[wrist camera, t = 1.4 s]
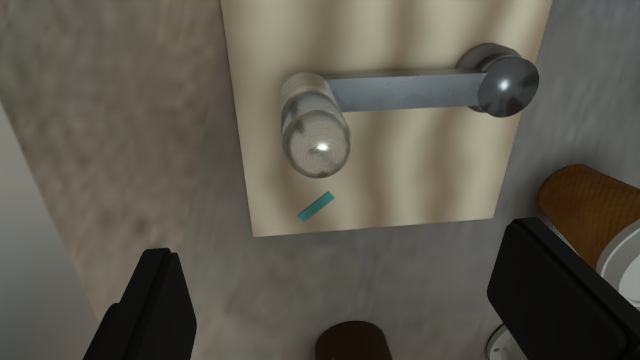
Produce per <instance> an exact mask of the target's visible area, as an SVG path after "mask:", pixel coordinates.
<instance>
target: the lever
mask: <svg viewBox="0 0 640 360" xmlns="http://www.w3.org/2000/svg"><path fill="white" fill-rule="evenodd" d="M538 84H539V75H538V71H537V69H536V67H535V65H534V64H533V63H532V62H530V61H529V60H526V59H523V58H520V57H517V56H514V55H511V54H508V53H497V54H494V55H491V56H489V57H487V58H485V59H484V60H483V61H481V62H480V63H479V64H478V65H477V66H476V68H466V69H441V70H417V71H393V72H368V73H344V74H320V75H317V74H315V73H312V72H300V73H297V74H294V75H293V76H291V77H290V78H289V79H288V80H287V81H286V82H285V83H284V85H283V87H282V89H281V93H280V107H281V134H282V149H283V154H284V157H285V159H286V161H287V162H288V164H289V165H290V166H291V168H293V169H294V170H295V171H296V172H297V173H299V174H301V175H303V176H305V177H308V178H313V179H321V178H327V177H330V176H332V175H334V174H336V173H337V172H339V171H340V170H341V169H342V168H343V167H344V166H345V165H346V163H347V162H348V160H349V158H350V155H351V152H352V146H353V139H352V134H351V131H350V128H349V126H348V124H347V122H346V120H345V118H344V116H343V114H342V112H359V111H379V110H399V109H419V108H439V107H458V106H477V107H478V108H480V109H481V110H483V111H484V112H486V113H488V114H489V115H491V116H493V117H498V118H504V117H509V116H512V115H514V114H517V113H518V112H520V111H521V110H523V109H524V108H525V107H526V106H527V105H528V104H529V103H530V102H531V100H532V99H533V97H534V95H535V93H536V91H537V88H538Z"/></svg>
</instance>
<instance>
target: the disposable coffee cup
mask: <svg viewBox="0 0 640 360" xmlns="http://www.w3.org/2000/svg"><path fill="white" fill-rule="evenodd" d="M538 205H539V208H540V209H541V210H542V211H543V212H544V213H545V215H546V216H547V217H548V218H549V219H550V221H551V222H552V223H553V224H554V225H555V226H556V228H557V229H558V230H559V231H560V233H561V234H562V235H563V236H564V237H565V238H566V240H567V241H568V242H569V243H570V244H571V246H572V247H573V248H574V249H575V250H576V252H577V253H578V254H579V255H580V256H581V257H582V259H583V260H584V261H585V262H586V263H587V264H588V265H590V266H591V267H592V268H593V269H594V270H595V271H596V272H597V273H598V274H599V275H600V276H601V277H603V278H604V279H605V280H606V281H607V282H608V283H609V284H610V285H611V286H612V287H613V288H615V289H616V290H617V291H618V292H619V293H620V294H621V295H622V296H623V297H624V298H625V299H626V300H628V301H629V302H630V303H631V304H632V305H633V306H634V307H640V189H638V188H636V187H633V186H631V185H629V184H626V183H624V182H622V181H619V180H617V179H614V178H612V177H610V176H607V175H605V174H603V173H600V172H598V171H596V170H593V169H591V168H589V167H587V166H584V165H573V166H568V167H566V168H563V169H561V170H560V171H558V172H556V173H555V174H553V175H552V176H551V177H550V178H549V179H548V180H547V181H546V182H545V183H544V185H543V186H542V188H541V189H540V192H539V195H538Z"/></svg>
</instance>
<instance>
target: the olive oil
mask: <svg viewBox="0 0 640 360" xmlns="http://www.w3.org/2000/svg"><path fill="white" fill-rule="evenodd" d="M315 353H316V360H392V357H391V354H390V351H389V348H388V345H387V342H386V339H385V336H384V334H383V332H382V331H381V330H380V329H379V328H378V327H376V326H374V325H372V324H369V323H365V322H347V323H343V324H339V325H337V326H334V327H332V328H331V329H329V330H327V331H326V332H325V333H324V334H323V335H322V336H321V337H320V338H319V340H318V341H317V344H316V348H315Z"/></svg>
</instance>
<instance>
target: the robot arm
mask: <svg viewBox="0 0 640 360" xmlns="http://www.w3.org/2000/svg"><path fill="white" fill-rule="evenodd" d="M487 296H488V299H489V301H490V303H491V305H492V306H493V308H494V309H495V311H496V312H497V314H498V315H499V317H500V318H501V320H502V321H503V323H504V324H505V325H503V326H502V327H501V328H500V329H498V331H497V332H496V333H495V334H494V335H493V336H492V338H491V339H490V341H489V344H488V346H487V356H488V358H489V360H640V311H638V310H637V309H636V308H635V307H634V306H633V305H632V304H631V303H630V302H629V301H628V300H626V299H625V298H624V297H623V296H622V295H621V294H620V293H619V292H618V291H617V290H616V289H615V288H613V287H612V286H611V285H610V284H609V283H608V282H607V281H606V280H605V279H604V278H603V277H601V276H600V275H599V274H598V273H597V272H596V271H595V270H594V269H593V268H592V267H591V266H590V265H588V264H587V263H586V262H585V261H584V260H583V259H582V258H581V257H580V256H579V255H578V254H576V253H575V252H574V251H573V250H572V249H571V248H570V247H569V246H568V245H567V244H566V243H565V242H563V241H562V240H561V239H560V238H559V237H558V236H557V235H556V234H555V233H554V232H553V231H551V230H550V229H549V228H548V227H547V226H546V225H545V224H544V223H543V222H542V221H541V220H539V219H538V218H535V217H531V218H519V219H514V220H513V221H512V222H511V224H509V225H508V226H507V227H506V230H505V233H504V236H503V239H502V243H501V246H500V249H499V252H498V256H497V259H496V262H495V265H494V269H493V272H492V275H491V278H490V282H489V285H488V288H487ZM196 329H197V322H196V317H195V313H194V310H193V306H192V303H191V299H190V295H189V292H188V288H187V285H186V281H185V278H184V274H183V271H182V267H181V263H180V260H179V256H178V254H177V253H171V251H170V249H169V248H158V249H146V250H145V251H144V252H143V254H142V256H141V258H140V260H139V262H138V264H137V266H136V268H135V271H134V273H133V275H132V277H131V279H130V281H129V283H128V285H127V288H126V290H125V292H124V294H123V296H122V298H121V300H120V302H119V303H114V304H112V305H111V306H110V307H109V309H108V310H107V312H106V314H105V316H104V318H103V320H102V322H101V324H100V326H99V328H98V330H97V332H96V334H95V336H94V338H93V340H92V342H91V344H90V346H89V348H88V350H87V352H86V354H85V356H84V358H83V360H190V358H191V354H192V349H193V344H194V340H195V335H196Z"/></svg>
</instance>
